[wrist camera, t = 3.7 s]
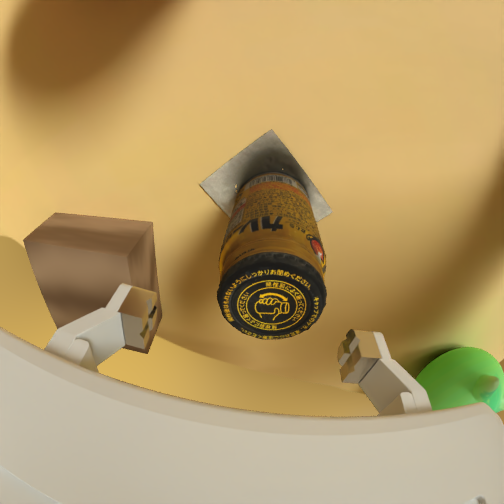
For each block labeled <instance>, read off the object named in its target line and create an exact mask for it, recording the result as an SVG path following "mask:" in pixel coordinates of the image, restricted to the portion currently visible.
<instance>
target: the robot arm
mask: <svg viewBox="0 0 504 504" xmlns="http://www.w3.org/2000/svg"><path fill="white" fill-rule="evenodd" d="M156 301H157V293H156V292H153V291H149V290H146V289H142V288H139V287H135V286H131V285H127V284H124V283H122V284H121V285H120V286H119V287H118V289H117V290H116V292H115V293H114V295H113V296H112V298H111V300H110V301H109V303H108V304H107V306H106V308H100V309H98V310H96V311H94V312H91V313H89V314H87V315H85V316H83V317H81V318H79V319H77V320H75V321H73V322H71V323H69V324H67V325H65V326H63V327H61V328H59V329H57V331H56V332H55V334H54V335H53V337H52V338H51V340H50V341H49V343H48V344H47V346H46V348H45V349H44V350H43V349H41V348H39V347H37V346H35V345H33V344H30V343H29V342H27V341H25V340H23V339H21V338H19V337H17V336H16V335H14V334H12V333H10V332H8V331H7V330H5V329H3V328H1V327H0V504H504V425H503V423H502V420H501V419H500V417H499V416H498V415H497V414H496V413H495V412H494V411H493V410H492V409H491V408H490V407H489V406H488V405H487V404H486V403H484V402H478V403H473V404H468V405H464V406H458V407H453V408H447V409H441V410H434V411H433V410H432V407H431V404H430V401H429V398H428V395H427V392H426V390H425V389H424V388H423V387H422V386H421V385H420V384H419V383H418V382H417V381H416V380H415V379H414V378H413V377H412V376H411V375H410V374H409V373H408V372H407V371H406V370H405V369H404V368H402V367H401V366H400V365H399V364H398V363H397V362H396V361H395V360H393V359H391V356H390V353H389V350H388V347H387V345H386V342H385V339H384V336H383V334H382V333H381V332H373V331H371V332H370V331H363V330H355V329H351V330H350V331H349V332H348V333H347V335H346V336H347V339H346V340H344V341H343V342H342V343H341V344H340V346H339V349H338V355H337V358H338V362H339V363H340V365H341V366H342V368H341V369H340V374H341V379H342V382H344V383H358V384H359V386H360V387H361V389H362V390H363V391H364V393H365V394H366V395H367V397H368V398H369V400H370V401H371V402H372V404H373V405H374V407H375V408H376V409H377V410H378V412H379V414H378V415H377V416H362V417H327V416H302V415H289V414H277V413H267V412H259V411H251V410H244V409H237V408H231V407H224V406H219V405H213V404H208V403H203V402H198V401H193V400H189V399H185V398H180V397H176V396H172V395H168V394H164V393H160V392H157V391H153V390H149V389H146V388H142V387H139V386H136V385H133V384H129V383H126V382H123V381H120V380H117V379H114V378H111V377H108V376H105V375H103V374H100V373H98V369H97V365H99V364H100V363H102V362H103V361H104V360H105V359H107V358H108V357H110V356H111V355H112V354H114V353H115V352H117V351H118V350H119V349H121V348H122V347H124V346H125V344H127V345H130V346H134V347H138V348H142V349H145V347H146V344H147V342H148V340H149V331H151V330H152V329H153V327H154V325H155V321H156V317H157V307H156V306H155V303H156Z"/></svg>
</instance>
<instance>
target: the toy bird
mask: <svg viewBox="0 0 504 504" xmlns="http://www.w3.org/2000/svg"><path fill="white" fill-rule="evenodd" d="M415 380H416V381H417V382H418V383H419V384H420V385H421V386H422V387H423V388H424V389H425V390H426V392H427V395H428V398H429V401H430V404H431V407H432V410H433V411H434V410H441V409H447V408H453V407H458V406H464V405H468V404H473V403H478V402H484V403H486V404H487V405H488V406H489V407H490V408H491V409H492V410H493V411H494V412H495V413H497V412H499V411H502V410H504V373H503V370H502V368H501V366H500V364H499V363H498V361H497V360H496V359H495V358H494V357H493V356H492V355H491V354H489V353H488V352H486V351H484V350H481V349H478V348H473V347H463V348H457V349H454V350H451V351H448V352H446V353H444V354H442V355H440V356H439V357H437V358H436V359H434V360H433V361H432V362H430V363H429V364H428V365H427V366H426V367H425V368H424V369H423V370H422V371H421V372H420V373H419V375H418V376H417V377H416V379H415Z"/></svg>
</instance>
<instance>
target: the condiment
mask: <svg viewBox="0 0 504 504" xmlns="http://www.w3.org/2000/svg"><path fill="white" fill-rule="evenodd" d="M282 168H283V170H282ZM236 184H237V188H235V185H236ZM200 185H201V187H202V188H203V189H204V190H205V191H206V192H207V193H208V194H209V195H210V196H211V197H212V199H213V200H214V201H215V202H216V203H217V204H218V205H219V206H220V207H221V209H222V210H223V211H224V212H225V213H226V214H227V215H228V216H229V217H230V221H229V225H228V228H227V230H226V234H225V238H224V241H223V245H222V248H221V252H220V258H219V270H220V284H219V289H218V291H217V300H218V303H219V306H220V309H221V311H222V315H223V316H224V318H225V319H226V320H227V321H228V322H229V323H230V324H231V325H232V326H233V327H235V328H236V329H237V330H239V331H241V332H242V333H244V334H246V335H250V336H253V337H256V338H259V339H283V338H288V337H292V336H295V335H297V334H300V333H301V332H303V331H305V330H308V329H309V328H310V327H311V326H312V325H313V324H314V323H315V322H316V321H317V320H318V319H319V317H320V315H321V313H322V311H323V308H324V307H325V305H326V296H327V293H326V287H325V285H324V275H325V269H326V255H325V252H324V249H323V245H322V242H321V238H320V235H319V231H318V228H317V224H316V222H318V221H320V220H321V219H323V218H324V217H326V216H328V215H329V214H331V213H332V210H331V209H330V207H329V206H328V204H327V203H326V201H325V200H324V198H323V197H322V195H321V194H320V193H319V191H318V190H317V188H316V187H315V185H314V184H313V183H312V181H311V180H310V179H309V177H308V176H307V174H306V173H305V172H304V170H303V169H302V168H301V166H300V165H299V164H298V163H297V161H296V160H295V158H294V157H293V156H292V154H291V153H290V152H289V150H288V149H287V148H286V147H285V145H284V144H283V143H282V142H281V140H280V139H279V138H278V136H277V135H276V134H275V133H274V131H273V130H272V129H271V130H270V131H268V132H267V133H266V134H264V135H263V136H261V137H260V138H259V139H257V140H256V141H254V142H253V143H252V144H250V145H249V146H248V147H246V148H245V149H244V150H242V151H241V152H240V153H238V154H237V155H236V156H235V157H233V158H232V159H231V160H229V161H228V162H227V163H226V164H224V165H223V166H222V167H221V168H219V169H218V170H217V171H215V172H214V173H213V174H212V175H211V176H209V177H208V178H207V179H206V180H205V181H203V182H202V183H201V184H200ZM236 190H238V191H237V193H236V192H235V191H236Z"/></svg>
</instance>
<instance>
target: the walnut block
mask: <svg viewBox="0 0 504 504" xmlns="http://www.w3.org/2000/svg"><path fill="white" fill-rule="evenodd" d="M23 241H24V245H25V248H26V251H27V254H28V257H29V260H30V263H31V266H32V269H33V271H34V274H35V277H36V280H37V282H38V285H39V288H40V290H41V293H42V295H43V297H44V300H45V302H46V304H47V307H48V309H49V311H50V313H51V316H52V318H53V320H54V322H55V324H56V326H57V329H59V328H61V327H63V326H65V325H67V324H69V323H71V322H73V321H75V320H77V319H79V318H81V317H83V316H85V315H87V314H89V313H91V312H94V311H96V310H98V309H100V308H106V306H107V304H108V303H109V301H110V300H111V298H112V296H113V295H114V293H115V292H116V290H117V289H118V287H119V286H120V285H121V284H122V283H124V284H127V285H131V286H135V287H139V288H142V289H146V290H149V291H153V292H156V293H157V301H156V303H155V306H156V307H157V317H156V321H155V325H154V327H153V329H152V330H151V331H149V340H148V342H147V344H146V347H145V349H142V348H138V347H134V346H130V345H127V344H125V346H124V347H122V348H125V349H129V350H133V351H137V352H141V353H146V354H148V352H149V349H150V346H151V344H152V341H153V338H154V336H155V333H156V331H157V328H158V326H159V323H160V321H161V318H162V309H161V302H160V294H159V286H158V278H157V268H156V258H155V247H154V235H153V222H146V221H136V220H127V219H117V218H107V217H97V216H87V215H76V214H65V213H54V214H53V215H52V216H51V217H49V218H48V219H47V220H46V221H45V222H43V223H42V224H41V225H40V226H39V227H37V228H36V229H35V230H34V231H33V232H32V233H30V234H29V235H28V236H27V237H26V238H25V239H24V240H23Z"/></svg>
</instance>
